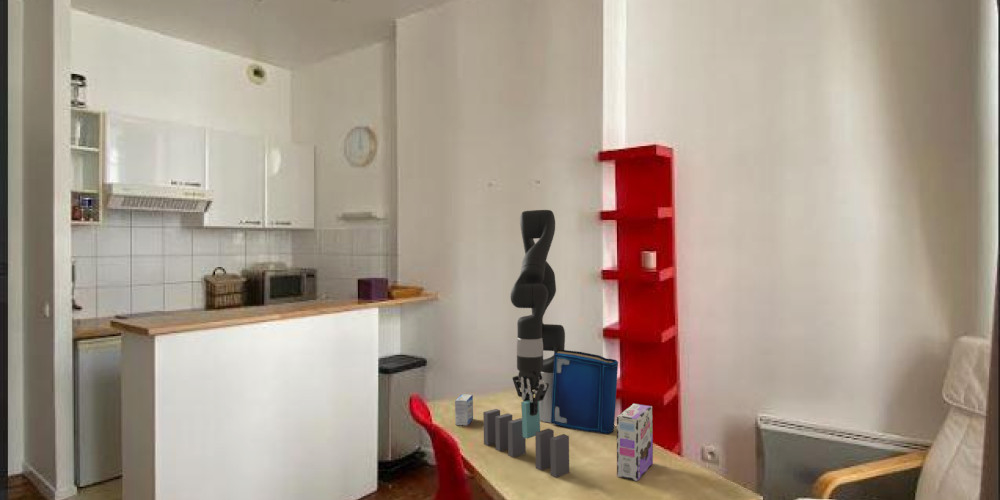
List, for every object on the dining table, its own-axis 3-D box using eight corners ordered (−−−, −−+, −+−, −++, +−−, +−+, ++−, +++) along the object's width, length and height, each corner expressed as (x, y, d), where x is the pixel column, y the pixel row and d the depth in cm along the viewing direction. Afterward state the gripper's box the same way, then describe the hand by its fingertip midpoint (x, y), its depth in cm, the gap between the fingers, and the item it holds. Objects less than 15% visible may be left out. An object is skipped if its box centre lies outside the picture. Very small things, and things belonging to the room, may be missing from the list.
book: (618, 431, 186) (620, 356, 185) (611, 438, 180) (613, 361, 179) (558, 419, 197) (560, 348, 195) (549, 425, 190) (551, 352, 189)
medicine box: (467, 426, 191) (467, 400, 191) (455, 425, 192) (454, 400, 192) (473, 418, 199) (473, 394, 198) (461, 418, 199) (460, 394, 199)
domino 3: (521, 451, 167) (520, 418, 167) (525, 453, 166) (525, 419, 166) (508, 455, 164) (507, 421, 164) (512, 457, 163) (512, 423, 163)
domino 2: (508, 445, 172) (508, 413, 172) (512, 447, 171) (512, 414, 170) (495, 449, 169) (495, 416, 169) (499, 451, 168) (499, 418, 167)
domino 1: (496, 440, 177) (496, 408, 177) (500, 442, 175) (500, 410, 175) (483, 444, 174) (483, 412, 174) (487, 445, 172) (487, 413, 172)
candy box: (637, 482, 146) (637, 418, 145) (616, 477, 149) (615, 415, 148) (653, 463, 157) (653, 405, 157) (633, 459, 160) (632, 402, 160)
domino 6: (564, 470, 153) (563, 433, 153) (569, 472, 152) (568, 435, 152) (550, 475, 150) (550, 438, 150) (555, 477, 149) (555, 440, 149)
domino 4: (535, 432, 163) (534, 398, 162) (540, 434, 161) (539, 399, 161) (522, 436, 160) (521, 402, 159) (527, 438, 158) (525, 403, 158)
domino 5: (549, 463, 158) (548, 428, 158) (553, 465, 156) (553, 430, 156) (535, 468, 155) (535, 432, 155) (540, 470, 153) (540, 434, 153)
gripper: (556, 355, 157) (556, 417, 157) (524, 348, 168) (524, 406, 168) (536, 359, 152) (537, 422, 152) (504, 351, 163) (505, 411, 163)
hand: (530, 413), depth 160 cm, fingers closed on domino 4, 2 cm apart
